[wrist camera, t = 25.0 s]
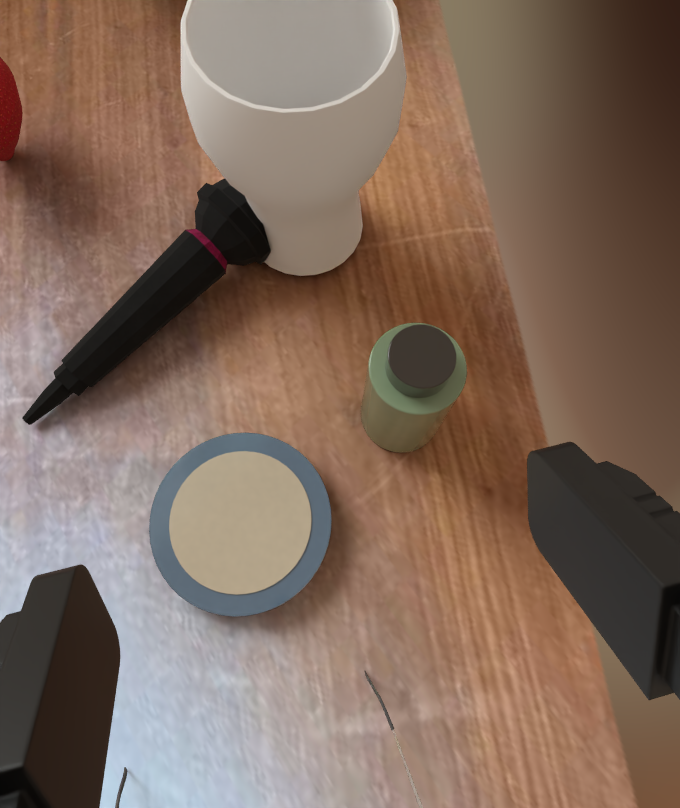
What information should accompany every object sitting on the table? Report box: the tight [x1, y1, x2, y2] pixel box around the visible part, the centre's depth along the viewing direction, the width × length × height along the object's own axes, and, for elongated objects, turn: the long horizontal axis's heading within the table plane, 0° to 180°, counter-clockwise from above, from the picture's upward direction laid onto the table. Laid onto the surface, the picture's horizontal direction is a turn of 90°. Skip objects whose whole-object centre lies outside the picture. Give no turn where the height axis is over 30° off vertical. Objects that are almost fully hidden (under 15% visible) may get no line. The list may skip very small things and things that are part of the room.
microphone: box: [23, 179, 271, 425], centre depth 38 cm, size 6×6×20 cm
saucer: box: [149, 433, 332, 616], centre depth 35 cm, size 10×10×2 cm
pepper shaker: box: [361, 323, 467, 452], centre depth 33 cm, size 5×5×10 cm
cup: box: [181, 0, 407, 276], centre depth 34 cm, size 11×11×15 cm
